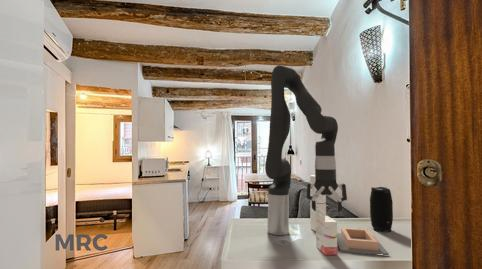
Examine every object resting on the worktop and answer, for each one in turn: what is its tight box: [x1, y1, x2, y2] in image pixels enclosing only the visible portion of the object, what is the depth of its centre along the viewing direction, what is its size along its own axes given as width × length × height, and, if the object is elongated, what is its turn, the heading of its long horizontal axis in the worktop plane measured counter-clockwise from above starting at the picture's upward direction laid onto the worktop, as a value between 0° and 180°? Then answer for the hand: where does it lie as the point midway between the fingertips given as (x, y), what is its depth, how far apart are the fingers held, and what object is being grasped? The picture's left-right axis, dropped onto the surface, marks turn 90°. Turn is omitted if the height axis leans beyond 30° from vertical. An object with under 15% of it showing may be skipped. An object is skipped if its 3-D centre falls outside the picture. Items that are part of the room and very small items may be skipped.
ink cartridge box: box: [315, 209, 338, 256], centre depth 93 cm, size 9×5×15 cm, turn 5°
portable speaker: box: [369, 186, 394, 233], centre depth 117 cm, size 9×9×20 cm
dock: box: [337, 227, 390, 256], centre depth 99 cm, size 16×18×4 cm
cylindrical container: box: [309, 174, 327, 232], centre depth 118 cm, size 7×7×25 cm
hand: (326, 211), depth 93 cm, fingers open, 8 cm apart
